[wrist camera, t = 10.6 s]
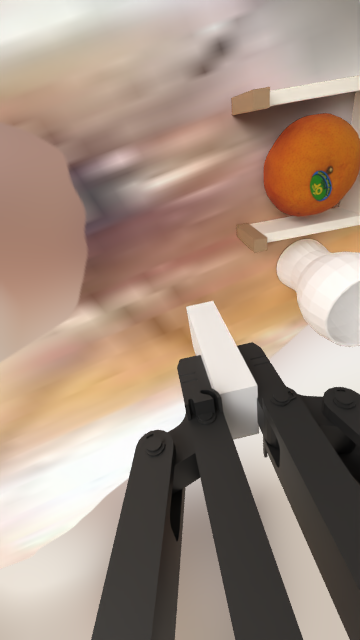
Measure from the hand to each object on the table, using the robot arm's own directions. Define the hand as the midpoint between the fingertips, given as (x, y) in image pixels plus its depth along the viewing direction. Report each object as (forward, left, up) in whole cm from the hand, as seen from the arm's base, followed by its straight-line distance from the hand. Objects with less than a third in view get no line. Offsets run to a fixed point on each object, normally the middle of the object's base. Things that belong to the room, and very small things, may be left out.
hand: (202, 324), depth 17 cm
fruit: (-3, +18, -27) cm, 32 cm away
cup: (+11, +20, -27) cm, 35 cm away
